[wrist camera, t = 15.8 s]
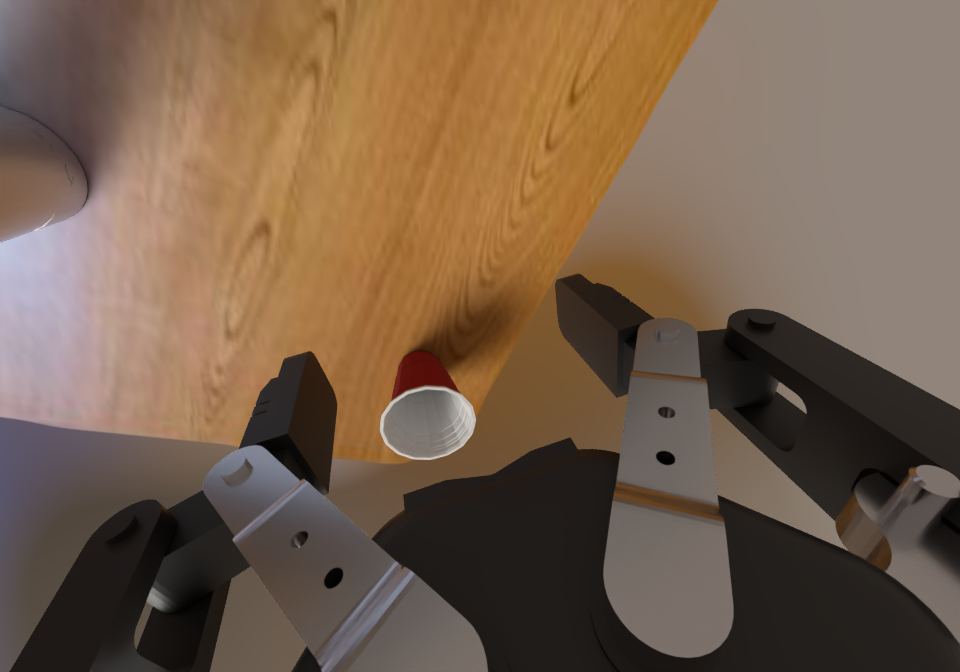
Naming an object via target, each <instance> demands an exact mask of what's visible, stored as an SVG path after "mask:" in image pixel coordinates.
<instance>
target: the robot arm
mask: <svg viewBox="0 0 960 672" xmlns="http://www.w3.org/2000/svg"><path fill="white" fill-rule="evenodd" d="M87 191H88V188H87V179H86V176H85V174H84V171H83V168H82V166H81V164H80V163H79V161H78V159H77V158H76V156H75V154H74V153H73V152H72V151H71V150H70V149H69V147H68V146H67V145H66V144H65V143H64V142H63V141H62V140H61V139H60V138H59V137H58V136H57V135H55V134H54V133H53V132H52V131H51V130H49V129H48V128H46V127H45V126H43V125H42V124H40V123H39V122H37V121H35V120H33V119H31V118H30V117H28V116H26V115H24V114H22V113H19V112H16V111H13V110H10V109H7V108H4V107H0V243H1V242H3V241H6V240H9V239H12V238H15V237H17V236H20V235H23V234H26V233H29V232H32V231H35V230H38V229H41V228H43V227H46V226H49V225H52V224H55V223H57V222H60V221H63V220H65V219H67V218H69V217H71V216H73V215H75V214H76V213H77V212H78V211H79V210H80V209H81V208H82V206H83V205H84V203H85V201H86V197H87ZM555 290H556V302H557V314H558V322H559V327H560V330H561V332H562V334H563V336H564V338H565V339H566V340H567V341H568V342H569V343H570V344H571V346H572V347H573V348H574V349H575V350H576V351H577V352H578V354H579V355H580V356H581V357H582V358H583V359H584V361H585V362H586V363H587V364H588V365H589V366H590V368H591V369H592V370H593V371H594V372H595V373H596V374H597V376H598V377H599V378H600V379H601V380H602V381H603V382H604V384H605V385H606V386H607V387H608V388H609V389H610V391H611V392H612V393H613V394H614V395H615V396H616V398H617V397H620V396H623V395H626V394H628V399H627V406H626V414H625V421H624V429H623V437H622V444H621V451H620V454H619V453H616V452H611V451H606V450H598V449H577V447H576V446H575V444H574V443H573V441H572V439H571V438H567V439H564V440H562V441H559V442H556V443H553V444H550V445H547V446H544V447H541V448H538V449H535V450H533V451H530V452H529V453H527V454H526V455H524V456H522V457H521V458H519V459H517V460H516V461H514V462H513V463H511V464H509V465H508V466H506V467H504V468H503V469H501V470H500V471H498V472H497V473H495V474H492V475H488V476H479V477H470V478H461V479H452V480H445V481H442V482H440V483H436V484H433V485H431V486H428V487H425V488H422V489H419V490H416V491H413V492H410V493H407V494H404V495H403V496H404V507H405V510H403V511H402V512H400V513H399V514H397V515H396V516H395V517H393V518H392V519H391V520H390V521H388V522H387V523H386V524H385V525H384V526H383V527H382V528H381V529H380V530H379V531H378V532H377V533H376V534H375V536H374V537H373V538H372V539H371V538H370V537H369V536H367V535H366V534H365V533H364V532H363V531H362V530H361V529H360V528H359V527H357V526H356V525H355V524H354V523H353V522H352V521H351V520H350V519H349V518H347V517H346V516H345V515H344V514H343V513H342V512H341V511H340V510H339V509H338V508H336V507H335V506H334V505H333V504H332V503H331V502H330V501H328V499H326V498H325V497H324V496H323V495H325V494H328V492H329V482H330V472H331V463H332V453H333V443H334V433H335V424H336V414H337V401H336V396H335V393H334V391H333V388H332V386H331V385H330V383H329V381H328V379H327V377H326V375H325V373H324V371H323V370H322V368H321V366H320V364H319V362H318V360H317V358H316V357H315V355H314V354H313V353H312V352H311V351H309V352H305V353H302V354H298V355H295V356H291V357H288V358H285V359H284V361H283V363H282V366H281V369H280V372H279V375H278V377H277V378H273V379H271V380H270V381H269V383H268V384H267V385H266V386H265V387H264V388H263V389H262V391H261V392H260V394H259V397H258V400H257V402H256V407H254V410H253V413H252V417H251V418H250V421H249V423H248V426H247V428H246V431H245V434H244V436H243V439H242V442H241V444H240V447H239V449H238V450H236V451H234V452H233V453H231V454H229V455H228V456H226V457H225V458H223V459H222V460H221V461H220V462H218V463H217V464H216V465H215V466H214V467H213V468H212V470H211V471H210V472H209V473H208V475H207V477H206V478H205V480H204V483H203V490H202V491H200V492H199V493H197V494H195V495H193V496H191V497H189V498H188V499H186V500H184V501H182V502H180V503H179V504H177V505H175V506H173V507H171V508H169V509H166V508H165V507H164V506H163V505H161V504H160V503H159V502H158V501H156V500H143V501H140V502H137V503H135V504H132V505H130V506H128V507H126V508H124V509H123V510H121V511H119V512H118V513H116V514H115V515H113V516H112V517H111V518H110V519H108V520H107V521H106V522H105V523H103V524H102V525H101V526H100V527H99V528H98V529H97V530H96V531H95V532H94V533H93V535H92V536H91V537H90V538H89V540H88V541H87V543H86V545H85V546H84V548H83V549H82V551H81V553H80V554H79V556H78V558H77V559H76V561H75V563H74V564H73V566H72V568H71V570H70V571H69V573H68V574H67V576H66V578H65V579H64V581H63V583H62V585H61V586H60V588H59V590H58V591H57V593H56V595H55V597H54V598H53V600H52V602H51V603H50V605H49V606H48V608H47V610H46V612H45V613H44V615H43V617H42V618H41V620H40V621H39V623H38V625H37V627H36V628H35V630H34V632H33V633H32V635H31V637H30V638H29V640H28V642H27V643H26V645H25V647H24V648H23V650H22V652H21V654H20V655H19V657H18V659H17V660H16V662H15V663H14V665H13V667H12V669H11V670H10V672H210V668H211V663H212V659H213V655H214V651H215V646H216V642H217V638H218V634H219V629H220V625H221V621H222V616H223V612H224V608H225V604H226V600H227V595H228V591H229V587H230V582H231V579H232V578H233V577H235V576H236V575H238V574H239V573H241V572H242V571H244V570H245V569H247V568H249V567H250V566H251V567H252V569H253V570H254V572H255V573H256V574H257V576H258V577H259V579H260V580H261V581H262V583H263V584H264V586H265V587H266V589H267V590H268V591H269V593H270V594H271V596H272V597H273V598H274V600H275V601H276V603H277V604H278V606H279V607H280V609H281V610H282V611H283V613H284V614H285V616H286V617H287V619H288V620H289V621H290V623H291V624H292V626H293V627H294V629H295V630H296V631H297V633H298V634H299V636H300V637H301V638H302V640H303V641H304V643H305V644H306V648H305V650H304V652H303V653H302V655H301V657H300V658H299V660H298V662H297V663H296V665H295V667H294V668H293V670H292V672H960V410H959V409H957V408H956V407H954V406H952V405H950V404H948V403H946V402H944V401H943V400H941V399H939V398H937V397H935V396H933V395H931V394H930V393H928V392H926V391H924V390H922V389H920V388H919V387H917V386H915V385H913V384H911V383H909V382H907V381H906V380H904V379H902V378H900V377H898V376H896V375H894V374H893V373H891V372H889V371H887V370H885V369H883V368H882V367H880V366H878V365H876V364H874V363H872V362H870V361H868V360H867V359H865V358H863V357H861V356H859V355H857V354H856V353H854V352H852V351H850V350H848V349H846V348H844V347H843V346H841V345H839V344H837V343H835V342H833V341H831V340H830V339H828V338H826V337H824V336H822V335H820V334H819V333H817V332H815V331H813V330H811V329H809V328H807V327H806V326H804V325H802V324H800V323H798V322H796V321H794V320H792V319H791V318H789V317H787V316H785V315H783V314H780V313H777V312H774V311H769V310H764V309H746V310H740V311H737V312H735V313H733V314H732V315H730V317H729V319H728V324H727V328H726V329H720V330H710V331H698V332H697V331H696V329H695V328H694V327H693V326H692V325H690V324H688V323H687V322H684V321H681V320H678V319H672V318H657V319H655V318H653V317H652V316H651V315H649V314H648V313H646V312H645V311H644V310H642V309H641V308H640V307H638V306H637V305H635V304H634V303H633V302H630V300H629V299H627V298H626V297H624V296H622V294H620V293H619V292H617V291H616V290H615V289H613V288H612V287H609V286H606V285H602V284H599V283H596V284H593V283H591V282H590V281H588V280H587V279H586V278H585V277H584V276H582V275H581V274H575V275H571V276H568V277H565V278H561V279H558V280H557V281H556V284H555ZM779 382H781V383H783V384H784V385H785V386H786V387H788V388H789V389H791V390H792V391H793V392H795V393H796V394H797V395H798V396H799V397H800V398H801V399H802V400H803V402H804V404H805V406H806V410H807V414H805V413H804V412H803V411H802V410H800V409H799V408H798V407H796V406H795V405H793V404H792V403H791V402H790V401H788V400H787V399H786V398H784V397H783V396H782V395H780V394H779V393H778V392H776V389H777V386H778V383H779ZM709 409H717V410H718V411H719V412H720V413H721V414H722V415H723V416H725V417H726V418H727V419H728V420H729V421H730V422H731V423H732V424H733V425H734V426H735V427H736V428H737V429H738V430H739V431H740V432H741V433H742V434H744V435H745V436H746V437H747V438H748V439H749V440H750V441H751V442H752V443H753V444H754V445H755V446H756V447H757V448H758V449H759V450H761V451H762V452H763V453H764V454H765V455H766V456H767V457H768V458H769V459H770V460H771V461H772V462H773V463H774V464H775V465H776V466H777V467H778V468H780V469H781V470H782V471H783V472H784V473H785V474H786V475H787V476H788V477H789V478H790V479H791V480H792V481H793V482H794V483H795V484H796V485H798V486H799V487H800V488H801V489H802V490H803V491H804V492H805V493H806V494H807V495H808V496H809V497H810V498H811V499H812V500H813V501H814V502H816V503H817V504H818V505H819V506H820V507H821V508H822V509H823V510H824V511H825V512H826V513H827V514H828V515H829V516H831V518H832V519H833V520H835V521H836V530H837V534H838V536H839V538H840V540H841V541H842V543H843V545H844V546H845V547H846V548H847V549H848V551H846V550H845V549H843V548H840V547H838V546H836V545H833V544H831V543H829V542H826V541H824V540H822V539H819V538H817V537H814V536H812V535H810V534H808V533H805V532H803V531H801V530H798V529H796V528H794V527H791V526H789V525H787V524H784V523H782V522H780V521H777V520H775V519H773V518H770V517H768V516H766V515H763V514H761V513H759V512H756V511H754V510H752V509H749V508H747V507H745V506H742V505H740V504H738V503H735V502H733V501H731V500H729V499H726V498H724V497H721V496H719V495H717V485H716V474H715V463H714V452H713V442H712V431H711V420H710V411H709ZM146 602H147V603H149V604H150V605H152V606H153V608H152V610H151V613H150V616H149V618H148V621H147V623H146V626H145V629H144V631H143V634H142V637H141V639H140V642H139V644H138V647H137V650H136V648H135V644H134V634H135V629H136V626H137V623H138V621H139V618H140V616H141V613H142V611H143V608H144V606H145V603H146Z"/></svg>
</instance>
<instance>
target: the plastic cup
mask: <svg viewBox="0 0 960 672" xmlns="http://www.w3.org/2000/svg"><path fill="white" fill-rule="evenodd" d="M475 422H476V418H475V414H474V410H473V406H472V405H471V404H470V403H469V402H468V400H467V399H466V398H465V397H464V396H463V395H462V394H461V393H460V392H459V391H458V389H457V387H456V386H455V384H454V382H453V381H452V379H451V377H450V376H449V374H448V372H447V371H446V370H445V369H444V367H443V365H442V364H441V362H440V361H439V360H438V359H437V357H436V356H434V355H433V354H432V353H429V352H427V351H416V352H413V353H410V354H408V355H407V356H406V357H404V358H403V360H402V361H401V363H400V365H399V367H398V373H397V377H396V380H395V385H394V390H393V395H392V400H391V402H390V404H389V405H388V407H387V408H386V410H385V411H384V413H383V414H382V416H381V424H380V433H381V435H382V437H383V439H384V442H385V444H386V445H387V446H389V447H390V448H391V449H392V450H393V451H395V452H396V453H397V454H399V455H402V456H405V457H408V458H411V459H426V460H428V459H429V460H432V459H435V458H439V457H443V456H446V455H449V454H451V453H452V452H454V451H456V450H457V449H459V448H460V447H462V446H463V445H464V444H465V442H466V441H467V440H468V439H469V438H470V436H471V435H472V434H473V430H474V426H475Z"/></svg>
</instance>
